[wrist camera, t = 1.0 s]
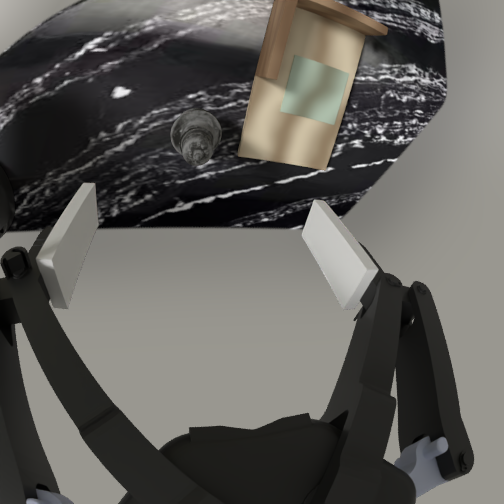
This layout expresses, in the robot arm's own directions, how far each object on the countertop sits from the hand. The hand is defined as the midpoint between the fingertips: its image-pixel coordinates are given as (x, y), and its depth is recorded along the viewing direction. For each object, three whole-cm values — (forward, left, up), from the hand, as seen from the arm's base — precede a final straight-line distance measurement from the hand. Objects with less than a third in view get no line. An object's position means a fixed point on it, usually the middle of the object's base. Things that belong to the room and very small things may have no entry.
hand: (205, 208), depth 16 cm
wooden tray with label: (+12, +9, -21) cm, 26 cm away
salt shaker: (0, 0, -21) cm, 21 cm away
